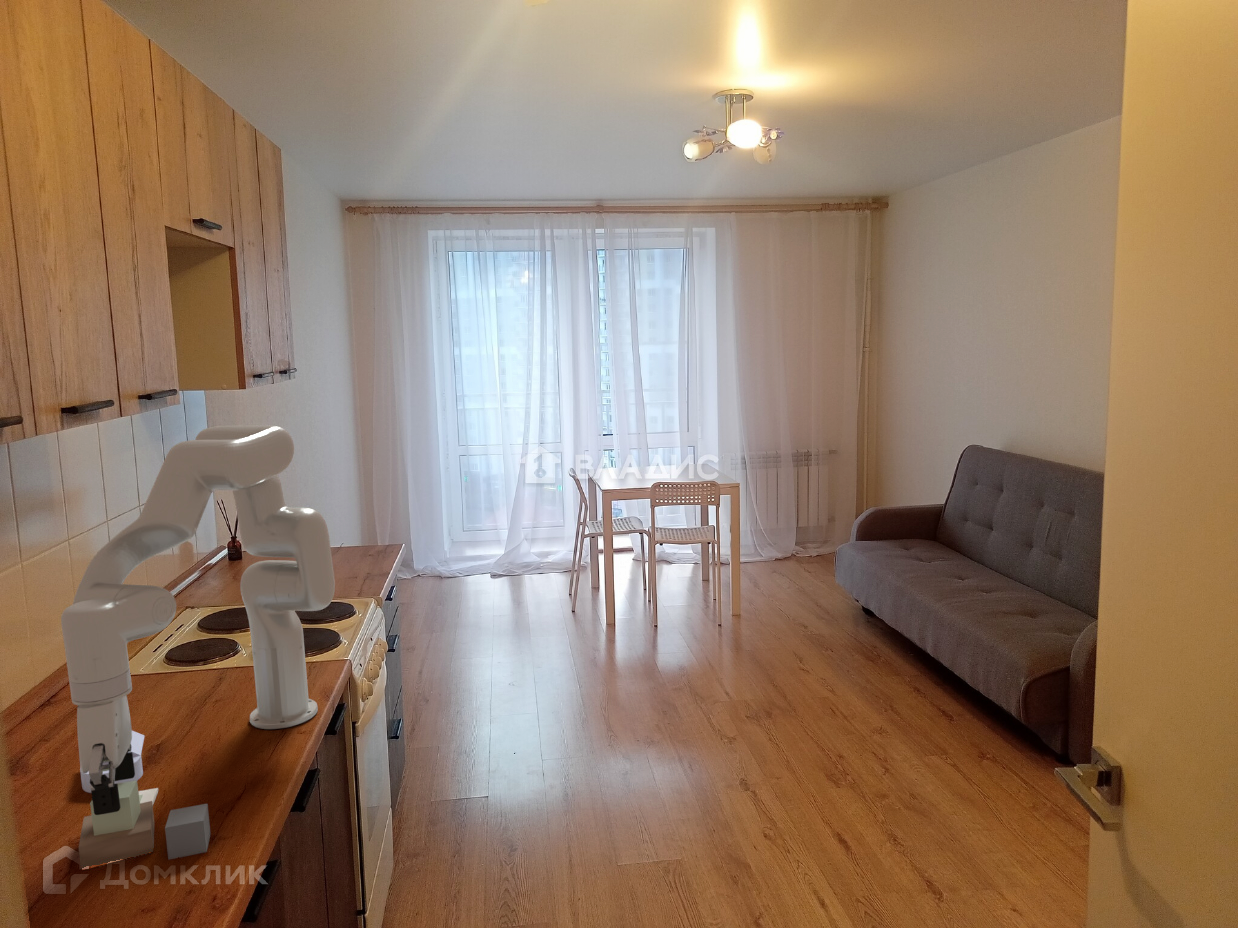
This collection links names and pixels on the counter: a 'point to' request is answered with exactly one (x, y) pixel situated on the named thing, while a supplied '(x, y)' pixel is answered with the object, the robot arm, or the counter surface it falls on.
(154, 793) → the tile
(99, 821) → the sage cube
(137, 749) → the wedge on round base
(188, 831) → the charcoal cube
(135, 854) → the taupe block
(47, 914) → the counter surface
